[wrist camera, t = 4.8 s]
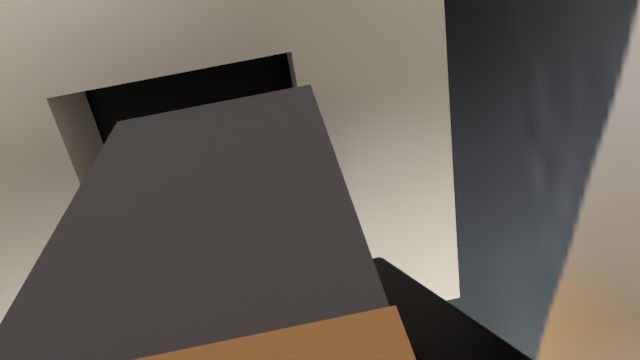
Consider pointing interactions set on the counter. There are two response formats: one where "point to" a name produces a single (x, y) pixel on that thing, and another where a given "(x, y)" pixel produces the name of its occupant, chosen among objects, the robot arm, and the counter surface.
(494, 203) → the counter surface
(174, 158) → the plug
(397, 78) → the block
